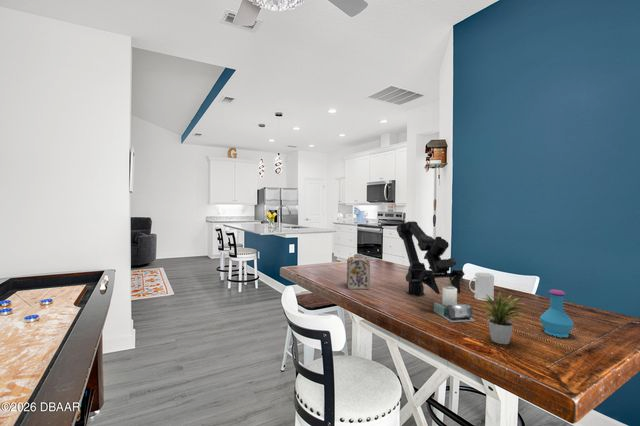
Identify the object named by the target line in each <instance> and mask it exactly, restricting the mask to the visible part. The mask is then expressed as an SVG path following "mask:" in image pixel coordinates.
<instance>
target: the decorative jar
mask: <svg viewBox="0 0 640 426" xmlns="http://www.w3.org/2000/svg"><path fill="white" fill-rule="evenodd" d="M346 260H347V261H346V285H347V288H348V290H370V288H371V262H370V259H369V258H368V257H366V256H363V253H354V254H353V256H350V257H347V259H346Z"/></svg>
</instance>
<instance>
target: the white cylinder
mask: <svg viewBox="0 0 640 426" xmlns="http://www.w3.org/2000/svg"><path fill="white" fill-rule="evenodd" d="M441 291H442V298H441V300H442V301H441V303H442V304H441V305H442V306H444V307H445V308H446V307H447V305H457V303H458V293H457V288H455V287H454V286H453V285H444V286H442V290H441Z"/></svg>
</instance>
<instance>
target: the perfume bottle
mask: <svg viewBox="0 0 640 426" xmlns="http://www.w3.org/2000/svg"><path fill="white" fill-rule="evenodd" d="M548 293H549V295H550V301H549V303H550V305H549V306H550V307H549V308H548V309H546V311H545V312H543V313H542V314H541V315H540V318H539V320H540V323H541V324H542V328H544V329H543V330H544V331H543V332H544V333H545V334H547V335H549V336H552V335H553V336H552V337H556V336H557V337H556V338H562V337H566V338H569V334H570V333H571V332H572V330H573V328H574V321H573V320H572V319H571V318H570V316H569V315H568V314H567V313H566V311H565V310H564V297H565V295H566V292H565V291H563V290H560V289H550V290H548Z"/></svg>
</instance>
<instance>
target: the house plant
mask: <svg viewBox="0 0 640 426" xmlns="http://www.w3.org/2000/svg"><path fill="white" fill-rule="evenodd" d="M489 296H490V295H489ZM489 296H488V295H487V297H488V298H489V299H488V298H487V297H486V298H487V300H488V301H485V302H486V303H487V304H488V305H489V306H488V305H484V304H483V305H481V307H482V308H484V309H485V310H486V309H487V311H486V312H485V317H488V316H489V317H490V316H492V317H490V318H488V320H487V322H488V327H489V335H490V340H491V341H492V342H494V343H496V344H499V345H509V344H510V343H511V341H510V340H511V337H512V332H513V328H514V322H515V318H516V317H520V318H523V315H525V313H523V312H521V313H520V312H518V311H514V310H522V309H523V310H524V309H525V310H529V308H527V307H524V305H522V304H521V302H518V303H517V302H516V301H517V300H519V299H520V297H517V298H514V299H512V300H511V301H509V300H510V298H511V297H512V296H513V293H511V294H510V295H509V296H507V298H506V299H504V301H503V297H502V293H501V290H499V291H498V294H497V298H495V297H493V298H494V301H495V302H494V301H493V300H492V299H491V298H490V297H489ZM483 299H484V300H485V298H483ZM515 302H516V303H515ZM519 305H520V306H521V307H519ZM512 311H513V312H512ZM510 320H512V321H513V322H512V321H510Z"/></svg>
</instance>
